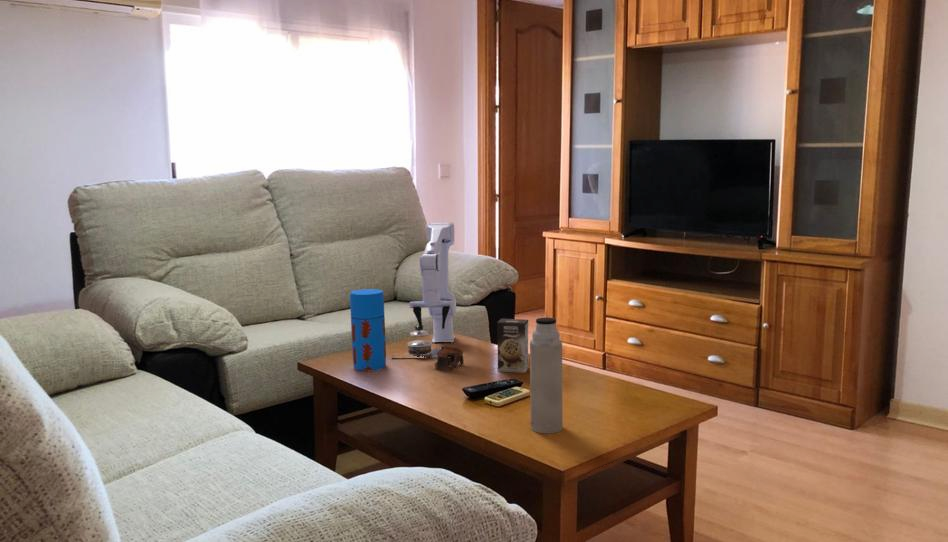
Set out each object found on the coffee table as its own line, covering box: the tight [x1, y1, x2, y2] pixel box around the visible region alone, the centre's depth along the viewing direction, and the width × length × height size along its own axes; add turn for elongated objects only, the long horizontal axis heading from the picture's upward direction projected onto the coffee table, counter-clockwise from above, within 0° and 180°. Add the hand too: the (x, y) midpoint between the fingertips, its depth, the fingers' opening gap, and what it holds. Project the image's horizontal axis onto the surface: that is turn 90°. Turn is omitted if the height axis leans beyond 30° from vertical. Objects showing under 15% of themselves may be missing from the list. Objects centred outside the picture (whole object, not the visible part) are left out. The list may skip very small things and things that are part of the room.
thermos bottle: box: [529, 317, 564, 434], centre depth 194 cm, size 8×8×28 cm
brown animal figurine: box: [434, 345, 464, 372], centre depth 253 cm, size 12×10×8 cm
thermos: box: [349, 288, 387, 372], centre depth 255 cm, size 11×11×25 cm
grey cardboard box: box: [497, 318, 529, 374], centre depth 249 cm, size 9×6×16 cm
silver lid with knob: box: [409, 324, 429, 338], centre depth 271 cm, size 6×6×3 cm
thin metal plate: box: [391, 339, 441, 359], centre depth 272 cm, size 13×18×4 cm
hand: (432, 328), depth 266 cm, fingers open, 7 cm apart
